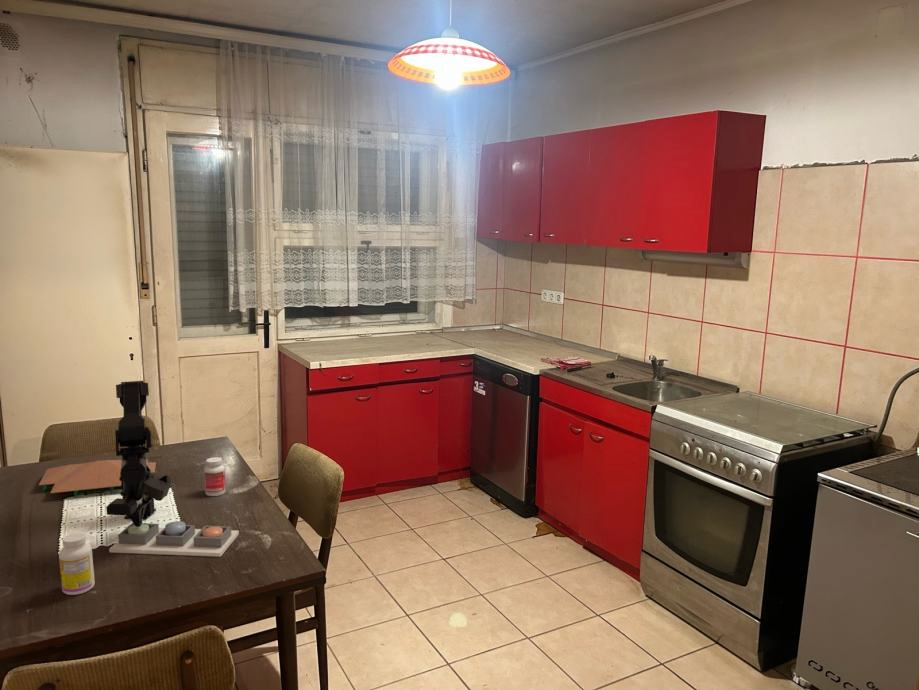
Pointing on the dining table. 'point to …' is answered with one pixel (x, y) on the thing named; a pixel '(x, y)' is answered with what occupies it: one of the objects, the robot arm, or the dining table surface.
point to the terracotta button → (212, 532)
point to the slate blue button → (175, 528)
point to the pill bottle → (214, 477)
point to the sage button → (138, 529)
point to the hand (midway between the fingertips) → (138, 526)
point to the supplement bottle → (76, 564)
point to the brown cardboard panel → (86, 476)
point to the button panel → (174, 542)
